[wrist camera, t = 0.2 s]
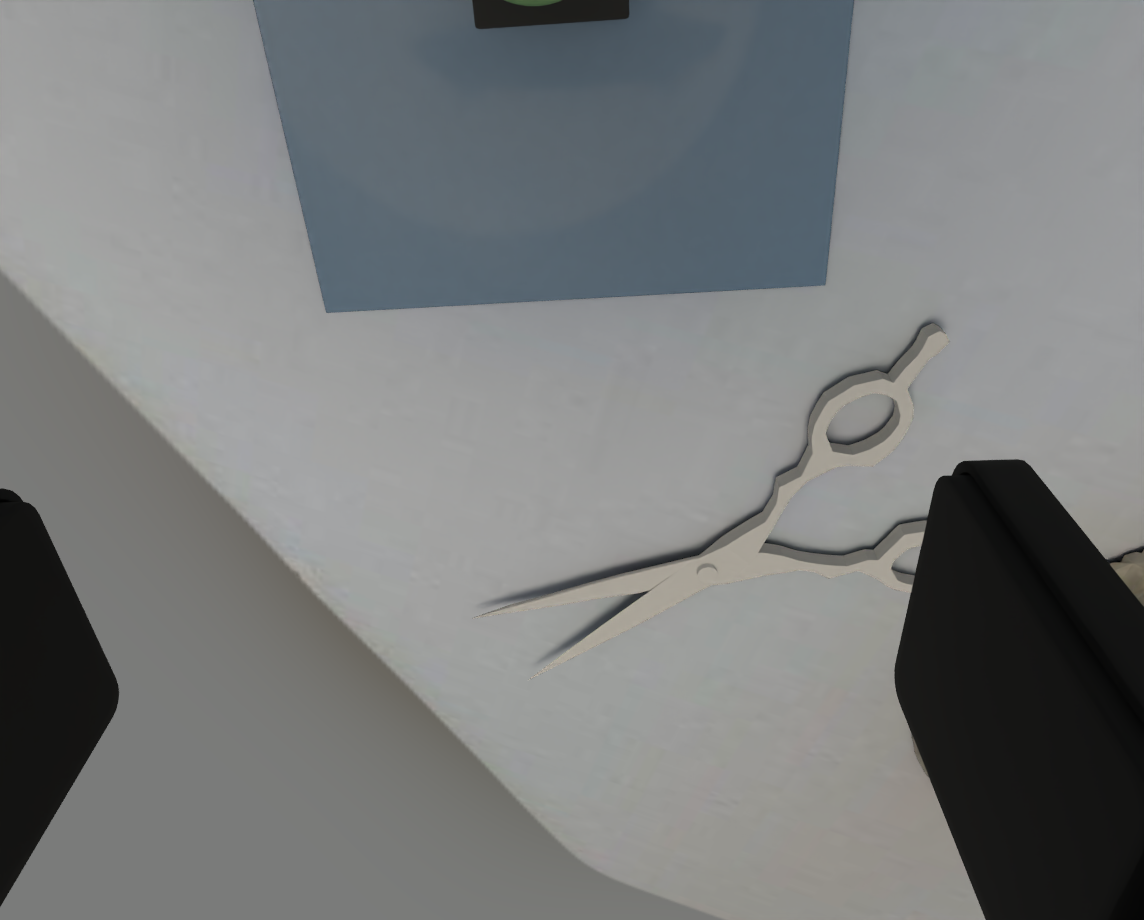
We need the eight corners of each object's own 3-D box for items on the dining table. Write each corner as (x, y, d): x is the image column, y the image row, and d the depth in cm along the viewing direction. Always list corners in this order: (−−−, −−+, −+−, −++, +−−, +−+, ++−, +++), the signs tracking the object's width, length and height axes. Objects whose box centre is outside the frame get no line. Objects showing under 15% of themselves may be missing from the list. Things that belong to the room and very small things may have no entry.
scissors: (1028, 558, 32) (562, 734, 37) (1019, 546, 32) (562, 720, 38) (945, 328, 27) (422, 569, 32) (936, 319, 28) (425, 556, 33)
